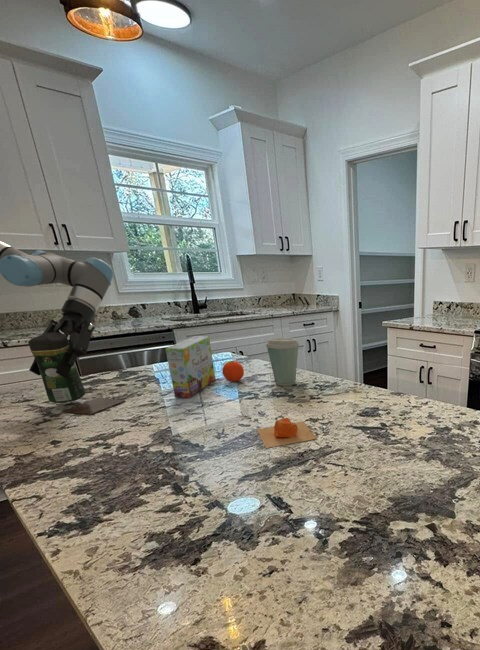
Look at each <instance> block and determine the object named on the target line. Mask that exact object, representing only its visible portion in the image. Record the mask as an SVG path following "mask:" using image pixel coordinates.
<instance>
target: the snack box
mask: <svg viewBox="0 0 480 650" xmlns="http://www.w3.org/2000/svg"><path fill="white" fill-rule="evenodd" d="M211 347H212V346H211V341H210V336H209V335H208V336H206V335H200V336H198V335H195V336H191V337H189V338H187V339H185V340H182V341H180V342H178V343H176V344H172V345H171V346H168V347H166V348H165V354H166V359H167V364H168V369H169V374H170V379H171V383H172V384H171V385H172V389H173V395H174V398H185V399H186V398H189V399H190V398H193V397H194V396H195V395H197V394H198V393H199V392H200V391H202V390H203V389H204V388H206V387H207V386H209V385H210V384H212V383H213V382H214V381H215V380H216V379H217V378H216V373H215V367H214V361H213V353H212V348H211Z"/></svg>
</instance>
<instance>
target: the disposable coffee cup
mask: <svg viewBox="0 0 480 650" xmlns="http://www.w3.org/2000/svg"><path fill="white" fill-rule="evenodd" d="M299 343H300V342H299V341H298V340H297V338H291V337H275V338H274V337H273V338H268V339H267V341H266V342H265V347H266V349H267V354H268V358H269V361H270V365H271V370H272V374H273V378H274V382H275V384H276V385H278V386H283V387H285V386H292V385H294V384H295V383H296V380H297V379H296V378H297V367H298V355H299V354H298V353H299V346H300V344H299Z"/></svg>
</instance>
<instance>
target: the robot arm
mask: <svg viewBox="0 0 480 650" xmlns="http://www.w3.org/2000/svg"><path fill="white" fill-rule="evenodd" d="M0 275H1V276H2V277H3V279H5V280H6V281H7V282H8V284H11V285H14V286H17V287H27V288H29V287H35V286H43V285H51V284H62V285H65V286H69V287H71V289H70V292H69V293H68V295H67V297H66V300H65V301H64V302H63V305H62V307H61V309H60V311H61V313H62V317H61V318H60V319H59V320H55V319H51V320H49V323H48V325H47V327H46V328H45V329H44V331H43V332H42V334H41V335H43V334H45V333H62V334H63V335H65V336H66V337H67V338H68V337H69V339H68V341H69V349H67V351H68V352H70V353H68V352H65V354H64V357H63V358H62V360H61V362H60V364H59V366H58V368H57V370H56V372H55V373H57V374H59V375H61V376H62V377H64V378H67V376H68V374H69V371H70V369H71V367H72V366H73V365H74V363H75V364H76V361H77V359H78V358H79V357H80V356H86V355H87V352H88V349H89V345H90V342H91V338H92V335H93V332H94V331H95V329H96V326H95V325H94V324H92V322H93V321H94V320H95V316H96V313H98V310H99V307H100V306H101V304H102V302H103V299H104V297H105V296H106V293H107V291H108V289H109V287H110V286H111V285H112V281H113V279H114V276H115V272H114V270H113V267H112V266H111V265H109V264H108V263H107V262H106V261H104V260H102V259H100V258H97V257H88V258H87V259H86V260H85V261H84V262H81V261H76V260H74V259H70V258H67V257H64V256H61V255H58V254H55V253H53V252H51V251H49V252H48V251H44V250H41V249H39V250H35V251H34V252H33V253H31V254H27V253H25V252H23V251H22V250H19V249H17V248H15V247H13V246H11V245H9V244H7V243H5V242H3V241H1V240H0ZM28 371H29V372H31V373H33V374H34V375H36V376H41V374H40V371H39V368H38V365H37V362H36V360H35V358H33V362H32V363H31V365H30V367H29V369H28Z"/></svg>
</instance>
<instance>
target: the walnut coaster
mask: <svg viewBox="0 0 480 650" xmlns="http://www.w3.org/2000/svg"><path fill="white" fill-rule="evenodd" d="M125 402H126V399H116V398H115V399H114V398H105V397H97V398H93V399H90V400H89V401H86V402H83V403H79V404H78V405H75V406H72V407H68V408H66V409H63V410H61V413H66V414H75V415H85V416H93V415H95V414H98V413H100V412H104V411H105V410H107V409H110V408H113V407H116V406H118V405H121V404H123V403H125Z"/></svg>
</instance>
